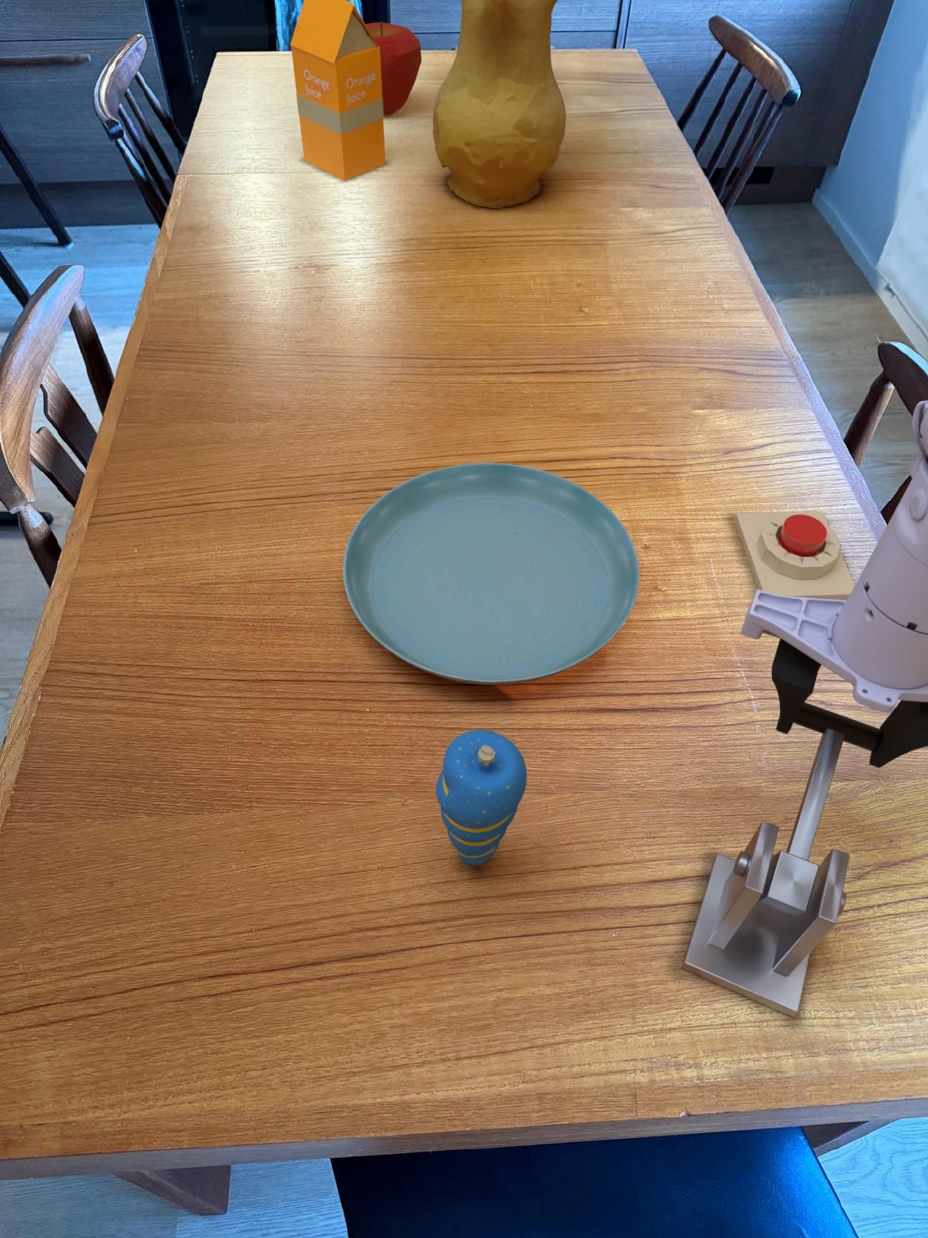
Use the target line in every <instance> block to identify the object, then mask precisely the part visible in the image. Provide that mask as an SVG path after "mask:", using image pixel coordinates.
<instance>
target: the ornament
mask: <svg viewBox="0 0 928 1238" xmlns="http://www.w3.org/2000/svg"><path fill="white" fill-rule="evenodd" d="M527 775H528V773H527V765H526V762H525V759H524V757H523V755H522V753H521V751H520V749H518V747H517V745H516V744H514V742H512V741H511V740H510V739H508V738H507V737H505V735H502V734H500V733H497V732H494V731H491V730H485V729H474V730H469V731H467V732H463V733H462V734H460V735H458V736H457V737H455V738H454V739H453V740H452V741H451V743H450V744H449V745H448V747H447V749H446V750H445V753H444V756H443V760H442V771H441V772H440V774H439V775H438V777H437V782H436V785H435V795H436V800H437V803H438V805H439V807H440V817H441V821H442V822H443V825H444V826H445V827H446V831H447V836H448V838H449V841H450V843H451V844H452V845H453V847H454V848H455V850H456V852H457V854H458V856H459V858H460V859H461V861H463V863H465V864H467V865H470V866H479V865H482V864H485V863H486V862H488V861H489V860H490V859H492V858H493V856H494V855H495V854H496V853H497V851H498V849H499V846H500V842H501V840H503V838H504V836H505V835H506V832H507V829H508V827H509V826H510V825H511V824H512V822H513V820H514V818H515V817H516V814H517V811H518V808H519V805H520V803H521V801H522V799H523V797H524V794H525V792H526V789H527V782H528V776H527Z"/></svg>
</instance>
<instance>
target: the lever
mask: <svg viewBox="0 0 928 1238" xmlns="http://www.w3.org/2000/svg"><path fill="white" fill-rule="evenodd" d="M794 724H795V725H797V726H800V727H803V728H805V729H809V730H812V731H814V732H817V733H820V734H821V737H820V739H819V743H818V746H817V750H816V753H815V757H814V760H813V763H812V766H811V770H810V773H809V776H808V779H807V783H806V785H805V789H804V792H803V796H802V799H801V802H800V805H799V808H798V811H797V815H796V818H795V822H794V825H793V827H792V828H793V829H792V831H791V835H790V838H789V842H788V845H787V848H786V851H785V850H782V849H781V850H779V851H777V852H776V853H775V854H773V855H772V859H771V863H770V867H769V871H768V875H767V879H766V883H765V887H764V890H763V894H762V895H761V897H760V898H759V901H760V902H763V903H765V904H768V905H770V906H772V907H775V908H777V909H780V910H782V911H784V912H787V913H789V914H792V915H794V916H797V915H800V914H803V913H806V911H807V907H808V904H809V901H810V897H811V894H812V890H813V887H814V883H815V880H816V877H817V873H818V870H819V865H820V864H818V863H815V862H812V861H810V860H809V858H810V855H811V851H812V848H813V844H814V841H815V838H816V834H817V832H818V827H819V824H820V822H821V819H822V818H821V817H822V815H823V811H824V807H825V804H826V801H827V797H828V794H829V790H830V788H831V784H832V780H833V778H834V774H835V771H836V767H837V764H838V761H839V757H840V755H841V750H842V747H843V744H844V742H845V743H847V744H850V745H852V746H856V747H859V748H861V749H864V750H866V751H869V752H871V751H872V752H875V751H876V750H877V748H878V747H879V745H880V742H881V739H882V736H883V730H882V729H879V728H880V727H876V726H873V725H871V724H868V723H864V722H862V721H859V720H856V719H853V718H850V717H848V716H845V715H843V714H839V713H837V712H834V711H831V710H828V709H825V708H823V707H820V706H816V705H814V704H811V703H809V702H806V701H805V702H804V703H803V705H802V706H801V708H800V709H799V711H798V713H797V715H796V717H795V720H794V722H793V725H794Z"/></svg>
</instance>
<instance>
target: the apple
mask: <svg viewBox="0 0 928 1238" xmlns="http://www.w3.org/2000/svg"><path fill="white" fill-rule="evenodd" d="M365 25H366V26H367V28H368V30H369V31H370V33H371V35H372V37H373V38H374V40H375V42H376V43H377V45H378V46H379V47H380V60H381V81H382V98H383V114H384V117H389V116H393V115H394V114H396V112H398V111H399V110H400V109H401V108H403V107H404V106H405V105H406V103H407V102H408V99H409V97H410V95H411V93H412V90H413V88H414V86H415V83H416V81H417V77H418V74H419V71H420V67H421V66H422V65H421V64H422V62H423V61H422V46H421V42H420V39H419V38H418V37H417V36H416V35H415V33H413V31H412V30H410V28H407V27H405V26H402V25H399V24H393V23H388V22H383V20H381V21H380V22H371V23H365Z"/></svg>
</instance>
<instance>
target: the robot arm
mask: <svg viewBox="0 0 928 1238" xmlns="http://www.w3.org/2000/svg"><path fill="white" fill-rule="evenodd" d="M911 432H912V437H913V440H914V441H915V444H916V445H917V449H918V452H917V456H916V458H915V460H914V461H913V464H912V465H911V468H910V469H909V471H908V473H909V475H910V477H911V478H912V479H911V480H910V482H909V484H908V486H907V488H906V490H905V492H904V493H903V495H902V497H901V499H900V501H899V502H898V505H897V506H896V508H895V510H894V512H893V514H892V515H891V517H890V519H889V521H888V524H887V525H886V527H885V529H884V530H883V533H882V534H881V537H880V538H879V540H878V542H877V544H876V545H875V547H874V548H873V551H872V552H871V555H870V557H869V559H867V560H868V561H867V562H866V564H865V566H864V568H863V570H862V571H861V574H860V575H859V577H858V579H857V581H856V583H854V584H855V586H854V588H853V590H852V592H851V594H850V595H849V597H848V599H847V600H834V599H820V598H806V597H792V596H784V595H778V594H773V593H769V592H765V591H762V590H758V588H757V589H756V590H755V593H754V595H753V598H752V599H751V602H750V604H749V607H748V610H747V612H746V615H745V618H744V621H743V624H742V627H741V630H740V635H742V636H744V637H748V638H749V639H754V640H759V639H760V638H762V635H763V634H765V635H768V636H771V637H773V638H777V639H779V641H778V644H777V647H776V650H775V654H774V657H773V660H772V664H771V681H772V683H773V685H774V687H775V689H776V692H777V696H778V703H779V716H778V719H777V724H776V726H775V730H776V731H777V732H779V733H781V734H784V735H788V734H789V733H790V731H791V730H792V727H793V725H794V723H793V722H794V720H795V717H796V715H797V713H798V711H799V709H800V708H801V706H802V705H803V703H804V702H806V701H807V700H808V699H809V698H810V696H811V695H813V693H814V689H815V687H816V686H815V685H816V681H817V678H818V674H819V670H820V669H821V667H822V666H823V667H824V668H826V669H828V670H829V671H831V672H832V673H834V674H835V675H837V676H838V677H840V678H841V679H843V680H844V681H846V682H847V683H849V684H851V685H852V687H853V688H852V689H853V690H852V698H853V700H854V701H855V702H856V703H858V704H860V705H861V706H864V707H868V708H871V709H874V710H876V711H880V712H882V713H889V715H888V716H887V718H885V720H884V721H883V723H882V724H881V725H880V726H879V727H878V728H879V729H882V730H883V736H882V739H881V742H880V745H879V747H878V748H877V750H876V751H875V752H872V751H870V756H869V760H868V761H869V762H868V765H869V766H872V767H875V768H877V769H880V768H883V766H886V765H887V764H889V763H890V762H892V761H894V760H896V759H897V758H899V757H903V756H904V755H906V754H908V753H910V752H913V751H916V750H920V749H923V748H926V747H927V748H928V400H922V401H919V402H918V403H917V404H916V406H915V408H914V410H913V414H912V418H911Z"/></svg>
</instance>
